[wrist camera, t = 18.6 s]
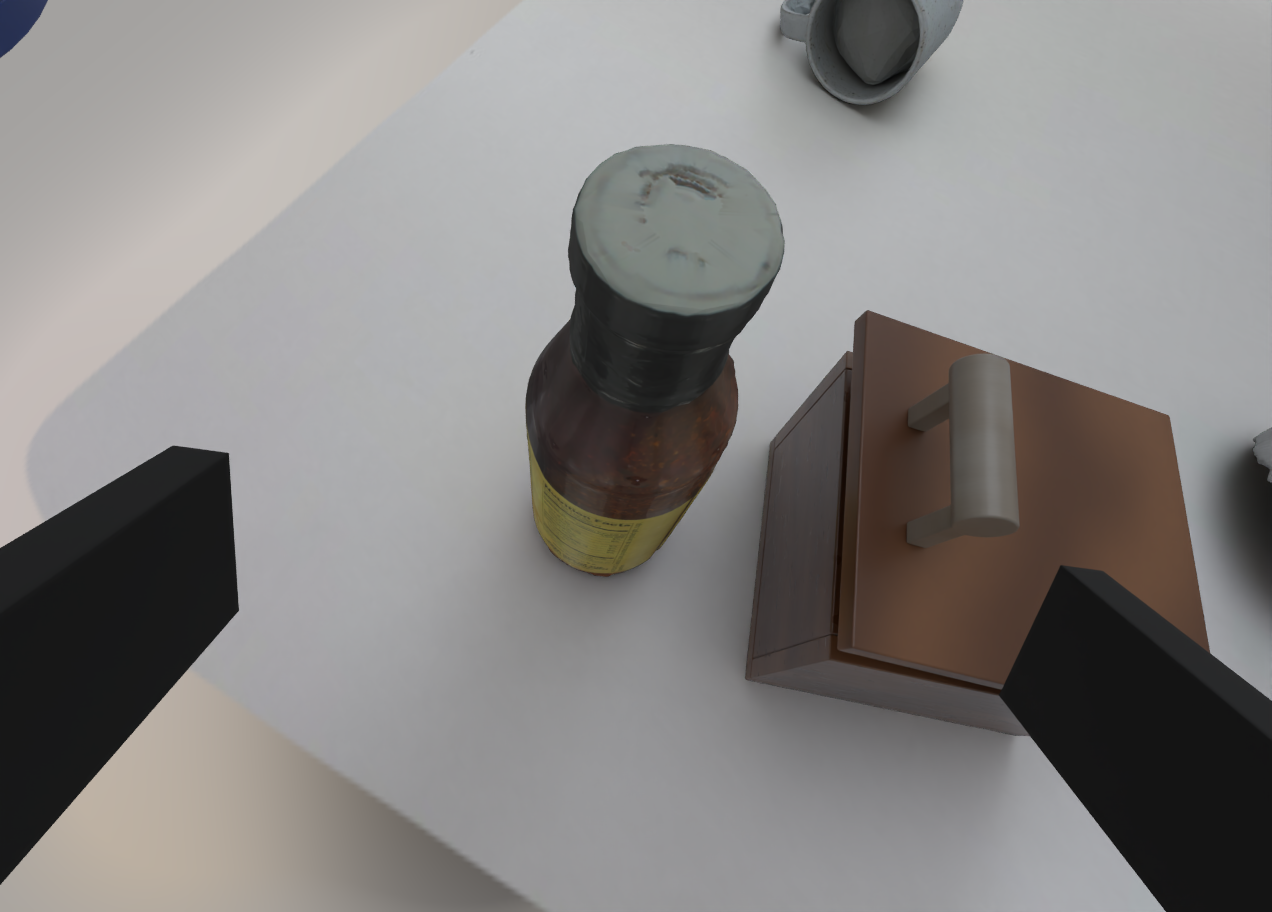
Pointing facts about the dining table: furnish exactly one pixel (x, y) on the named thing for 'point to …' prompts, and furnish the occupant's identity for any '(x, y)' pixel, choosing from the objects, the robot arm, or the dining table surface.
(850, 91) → the ceramic mug
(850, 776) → the dining table surface
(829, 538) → the box
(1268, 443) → the grey clay mound
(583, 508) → the sauce bottle
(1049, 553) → the breadbox lid
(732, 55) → the dining table surface
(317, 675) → the dining table surface
